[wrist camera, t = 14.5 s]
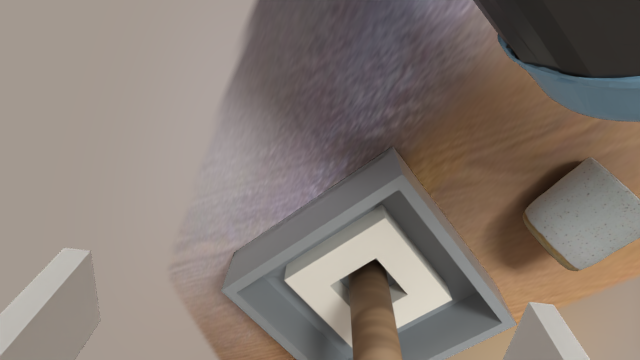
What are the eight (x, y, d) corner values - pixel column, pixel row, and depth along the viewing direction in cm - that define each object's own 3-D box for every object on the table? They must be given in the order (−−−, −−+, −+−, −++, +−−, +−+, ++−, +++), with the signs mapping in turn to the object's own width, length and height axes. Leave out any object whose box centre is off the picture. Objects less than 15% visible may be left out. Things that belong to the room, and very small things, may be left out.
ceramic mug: (504, 203, 41) (540, 251, 35) (575, 143, 39) (630, 182, 32) (570, 259, 44) (615, 313, 38) (640, 207, 42) (703, 255, 35)
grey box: (392, 146, 39) (402, 173, 34) (495, 283, 46) (516, 324, 40) (234, 252, 45) (221, 290, 39) (345, 360, 51) (347, 405, 46)
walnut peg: (372, 252, 43) (389, 367, 31) (393, 277, 44) (418, 397, 32) (340, 270, 44) (344, 389, 32) (362, 294, 46) (374, 417, 33)
